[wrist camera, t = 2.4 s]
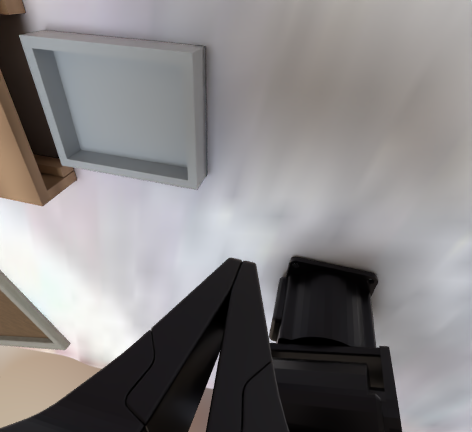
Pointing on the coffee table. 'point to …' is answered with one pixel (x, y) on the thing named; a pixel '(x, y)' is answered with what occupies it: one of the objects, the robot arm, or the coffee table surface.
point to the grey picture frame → (25, 321)
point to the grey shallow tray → (123, 104)
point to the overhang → (25, 150)
